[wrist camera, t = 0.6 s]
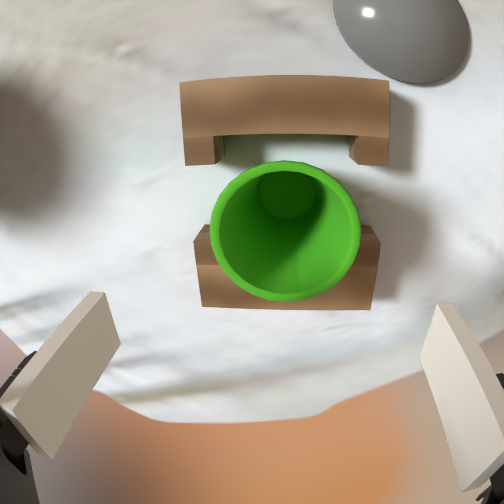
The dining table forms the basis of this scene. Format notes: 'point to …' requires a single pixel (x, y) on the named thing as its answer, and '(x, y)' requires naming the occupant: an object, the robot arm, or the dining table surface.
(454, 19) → the coaster
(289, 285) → the cup
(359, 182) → the dining table surface
